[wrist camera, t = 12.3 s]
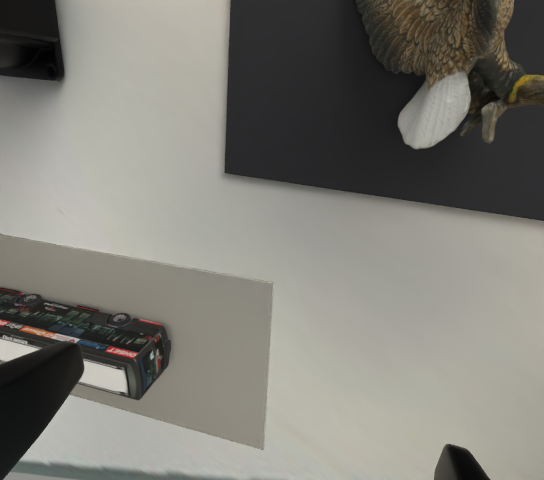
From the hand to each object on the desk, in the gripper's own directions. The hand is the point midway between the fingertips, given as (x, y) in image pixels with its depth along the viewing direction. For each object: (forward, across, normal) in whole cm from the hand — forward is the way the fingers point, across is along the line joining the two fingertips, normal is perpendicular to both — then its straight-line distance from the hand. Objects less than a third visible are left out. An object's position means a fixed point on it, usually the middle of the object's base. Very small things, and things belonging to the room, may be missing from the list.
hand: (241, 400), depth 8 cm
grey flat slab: (+12, +14, +11) cm, 22 cm away
